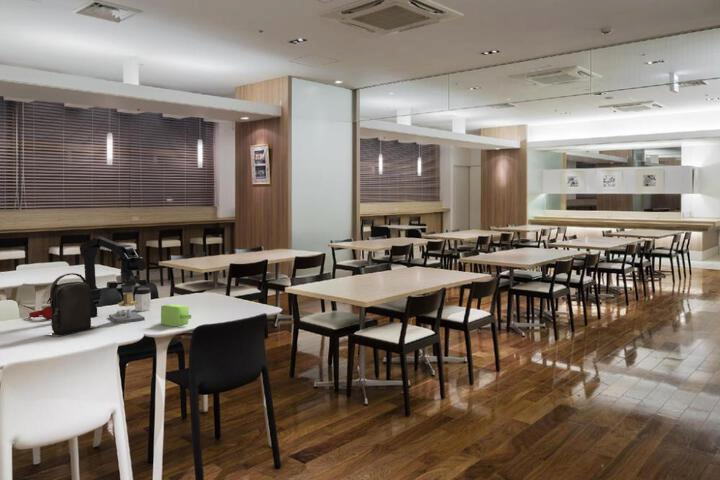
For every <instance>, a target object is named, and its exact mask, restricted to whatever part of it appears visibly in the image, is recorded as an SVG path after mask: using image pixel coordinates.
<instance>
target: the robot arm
mask: <svg viewBox="0 0 720 480" xmlns="http://www.w3.org/2000/svg"><path fill="white" fill-rule="evenodd" d="M101 247H102V248H105V249H107V250H110V251H112V252H114V253H115V254H116V255H117V256H118V258H117V259H116V261H117V262H120V263H119V264H120V282H119V281H114V280H113V281H107V282H106V288H108V289H115V290H116V291H117V292H118V295H119V297H120V299H121V302H123V293H124V292H123V290H124V289H123V287H122V286H126V287H130V286H131V293H133V300H135V294H136V291H137V289H138V288H142V286H148V280H147V279H146V278H140V275H138V274H137V275H134V271H137V272H140V271H142V272H143V271H145V269H146V267H147V262H146V261H145V260H144V258H143V257H142V256H139V255H138V254H137V252H136V249H134V246H133V245H131V244H125V243H124V244H123V243H122V244H121V243H119V242H116V241H113V240H111V239H108V238H105V237H104V236H95V237H93V238H92V239H90V240H86V241H85V242H82V243H81V244H80V245H79V253H80V256H81V258H82V259H83V263H84V279H85V280H86V283H87V284H88V285H89V286H90V289H91V298H92V300H93V301H94V313H91V318H95V317H98V307H97V305H98V304H99V301H100V300H101V297H102V294H101V292H102V291H101V288H98V286H97V284H96V283H97V282H96V267H95V266H96V263H95V258H96V257H97V255H98V250H99V248H101Z"/></svg>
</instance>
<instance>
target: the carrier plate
mask: <svg viewBox="0 0 720 480" xmlns="http://www.w3.org/2000/svg"><path fill="white" fill-rule="evenodd" d="M108 317H109V319H110V320H111V321H114V322H115V323H116V324H117V325H119V324H127V323H133V322H134V323H135V322H140V321H142V320H143V321H146V319H145V316H143V315H141V314H139V313H138V312H137V311H132V310H131V309H121V310H117V311H116V313H115V314H114V313H113V314H109V315H108Z"/></svg>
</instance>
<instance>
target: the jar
mask: <svg viewBox="0 0 720 480" xmlns="http://www.w3.org/2000/svg"><path fill="white" fill-rule="evenodd" d="M134 301H137V302H138V305H135V306H134V312H146V311H147V312H148V311H150V310H151V309H152V305H151V304H152V302H151V301H152V300H151V288H150V287H139V288H138V289H137V291H136V294H135V297H134Z"/></svg>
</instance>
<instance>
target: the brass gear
mask: <svg viewBox="0 0 720 480" xmlns="http://www.w3.org/2000/svg"><path fill="white" fill-rule="evenodd" d="M135 305H138V302H137V301H135V300H134V299H133V293H132V291H131V292H128V291H127V292H123V301H120V302H117V306H119V307H128V308H129V307H131V306H132V307H135Z"/></svg>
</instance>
